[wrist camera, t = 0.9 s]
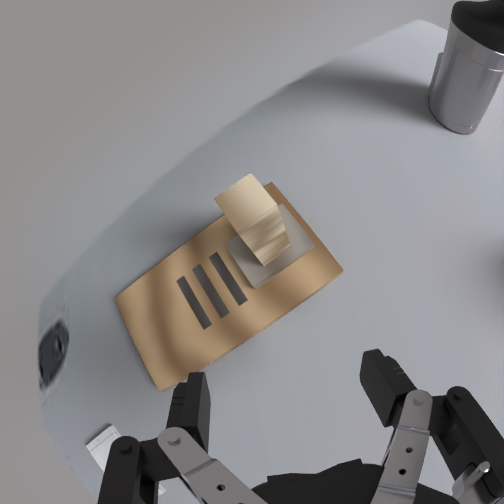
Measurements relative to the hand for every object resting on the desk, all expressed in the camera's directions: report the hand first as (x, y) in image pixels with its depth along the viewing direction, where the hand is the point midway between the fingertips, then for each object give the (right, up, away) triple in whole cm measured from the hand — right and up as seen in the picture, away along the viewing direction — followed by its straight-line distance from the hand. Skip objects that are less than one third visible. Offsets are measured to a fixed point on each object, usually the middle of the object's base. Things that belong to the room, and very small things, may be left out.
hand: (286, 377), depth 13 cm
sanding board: (-6, +2, +21) cm, 22 cm away
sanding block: (0, +7, +20) cm, 21 cm away
